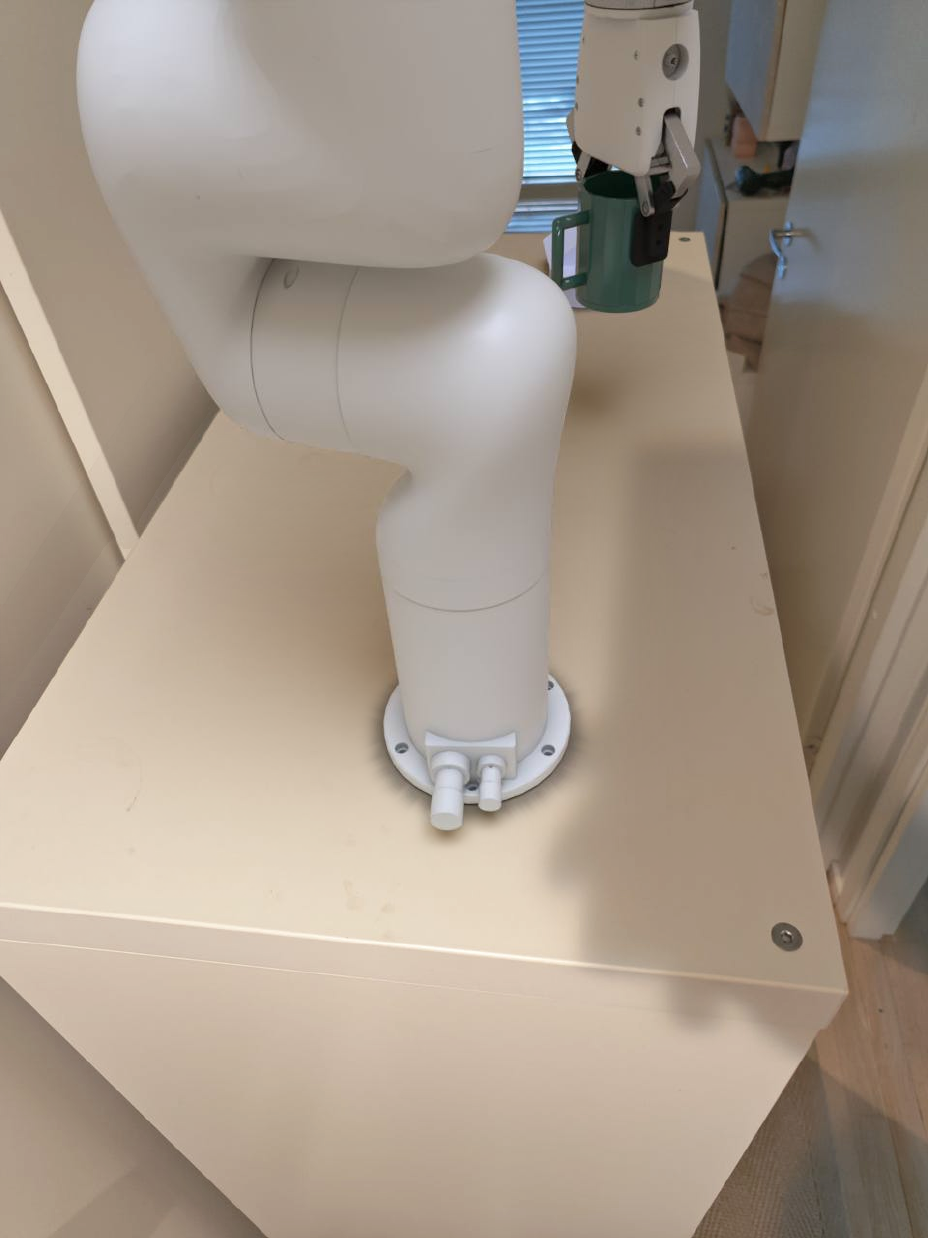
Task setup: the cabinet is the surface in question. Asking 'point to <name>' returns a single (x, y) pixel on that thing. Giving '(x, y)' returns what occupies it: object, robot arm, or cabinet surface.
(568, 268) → the wedge on round base
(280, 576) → the cabinet surface
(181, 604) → the cabinet surface
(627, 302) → the mug
